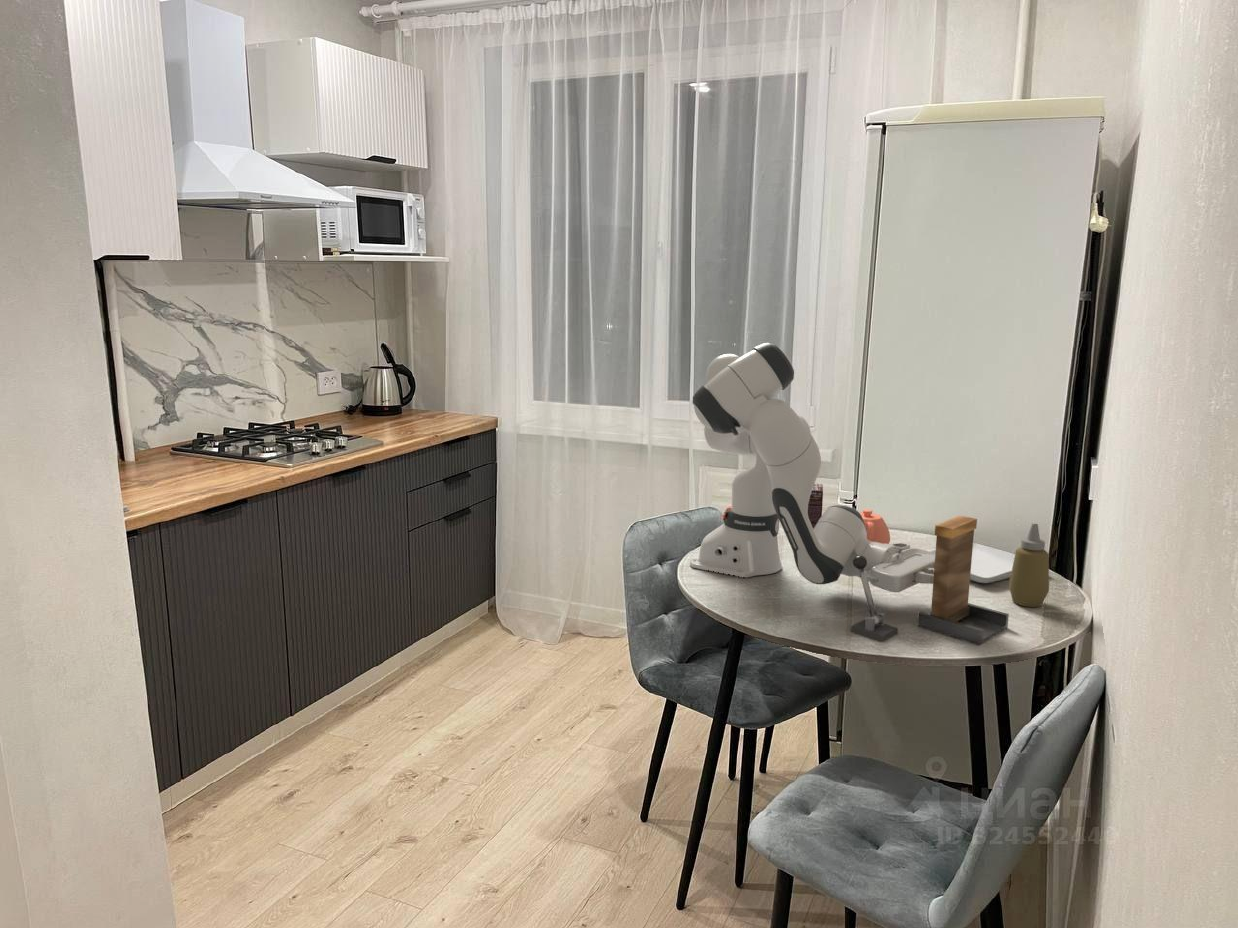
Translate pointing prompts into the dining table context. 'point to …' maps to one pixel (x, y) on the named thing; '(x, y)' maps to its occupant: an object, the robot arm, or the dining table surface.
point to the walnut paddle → (953, 568)
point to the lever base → (874, 629)
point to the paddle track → (968, 624)
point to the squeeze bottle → (1030, 571)
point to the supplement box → (815, 504)
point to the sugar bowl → (875, 527)
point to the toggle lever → (866, 587)
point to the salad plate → (989, 564)
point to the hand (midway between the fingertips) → (943, 579)
